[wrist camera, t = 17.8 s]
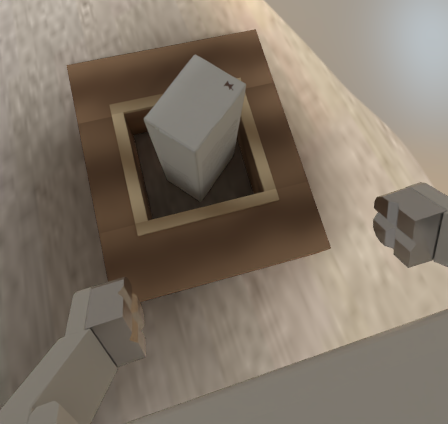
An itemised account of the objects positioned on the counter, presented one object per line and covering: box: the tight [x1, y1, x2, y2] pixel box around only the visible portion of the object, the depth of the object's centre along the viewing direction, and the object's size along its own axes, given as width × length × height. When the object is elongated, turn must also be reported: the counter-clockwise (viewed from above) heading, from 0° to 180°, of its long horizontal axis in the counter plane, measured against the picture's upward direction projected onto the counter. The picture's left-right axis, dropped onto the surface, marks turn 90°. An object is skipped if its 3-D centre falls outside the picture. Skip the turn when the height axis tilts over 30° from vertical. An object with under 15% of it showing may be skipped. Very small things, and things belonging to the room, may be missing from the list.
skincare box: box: [144, 55, 246, 202], centre depth 27 cm, size 6×4×12 cm
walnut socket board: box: [67, 29, 331, 302], centre depth 31 cm, size 22×18×4 cm
